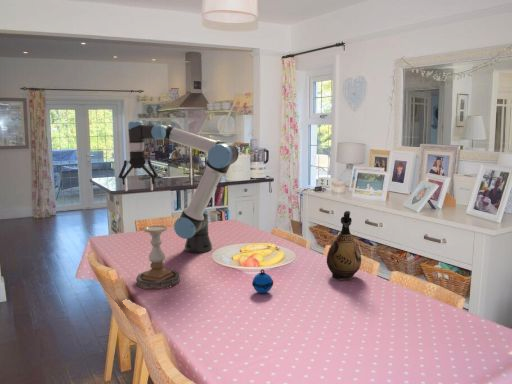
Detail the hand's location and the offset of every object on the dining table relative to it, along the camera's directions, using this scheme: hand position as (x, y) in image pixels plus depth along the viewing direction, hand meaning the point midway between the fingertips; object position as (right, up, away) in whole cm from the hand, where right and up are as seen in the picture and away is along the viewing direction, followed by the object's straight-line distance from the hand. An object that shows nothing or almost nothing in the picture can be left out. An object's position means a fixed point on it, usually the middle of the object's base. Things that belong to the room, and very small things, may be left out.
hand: (139, 190), depth 250 cm
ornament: (+65, -43, -55) cm, 96 cm away
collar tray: (+19, -41, -40) cm, 61 cm away
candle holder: (+19, -40, -41) cm, 60 cm away
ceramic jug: (+103, -39, -37) cm, 116 cm away
